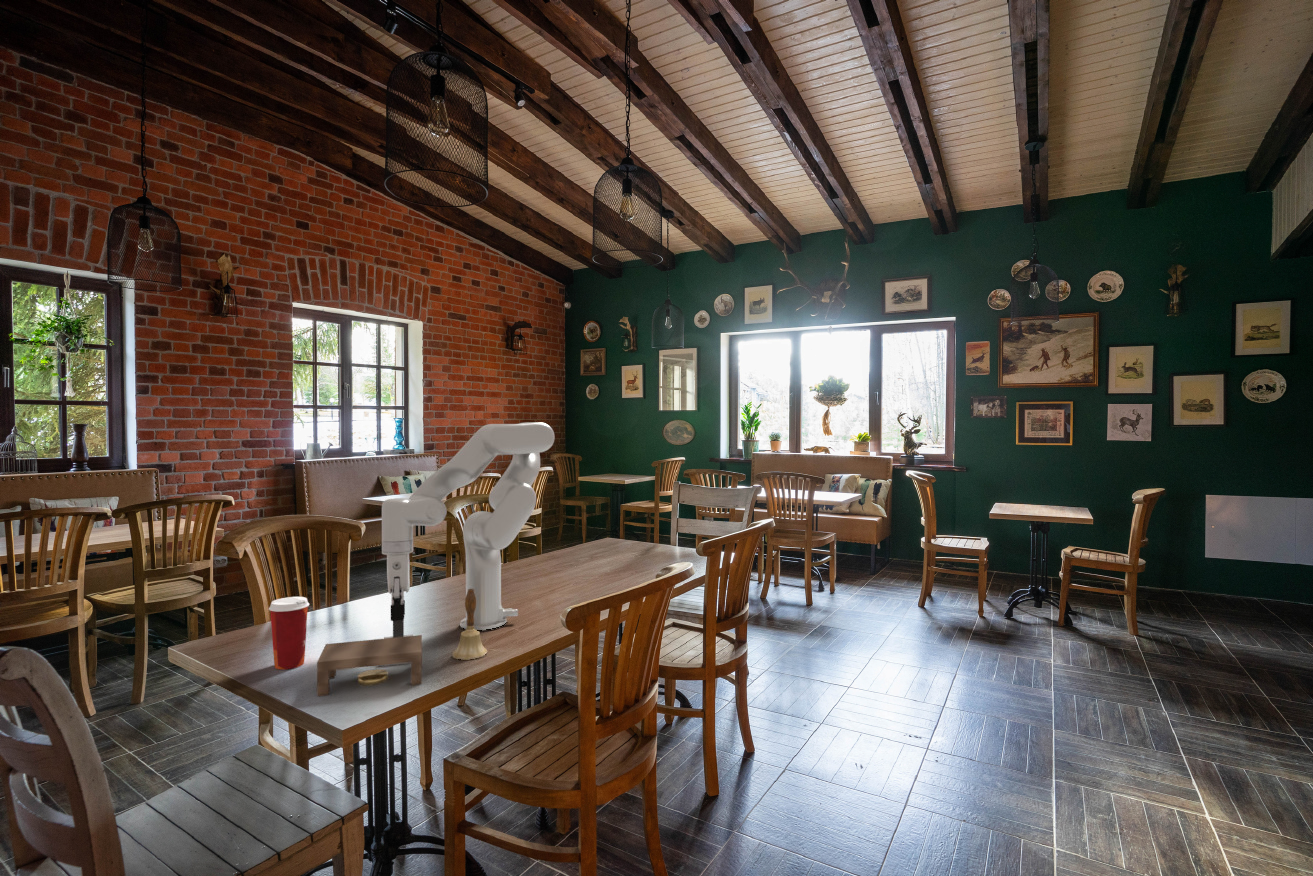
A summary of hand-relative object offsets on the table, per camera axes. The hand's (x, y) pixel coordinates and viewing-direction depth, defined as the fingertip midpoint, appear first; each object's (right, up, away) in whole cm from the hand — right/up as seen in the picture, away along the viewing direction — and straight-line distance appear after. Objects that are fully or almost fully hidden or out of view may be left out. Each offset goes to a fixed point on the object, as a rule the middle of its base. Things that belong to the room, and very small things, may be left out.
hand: (397, 617), depth 169 cm
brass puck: (+5, -7, -26) cm, 27 cm away
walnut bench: (+5, -7, -26) cm, 27 cm away
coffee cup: (-18, -7, -17) cm, 26 cm away
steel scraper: (+3, -7, -8) cm, 10 cm away
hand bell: (+21, -7, -9) cm, 24 cm away
